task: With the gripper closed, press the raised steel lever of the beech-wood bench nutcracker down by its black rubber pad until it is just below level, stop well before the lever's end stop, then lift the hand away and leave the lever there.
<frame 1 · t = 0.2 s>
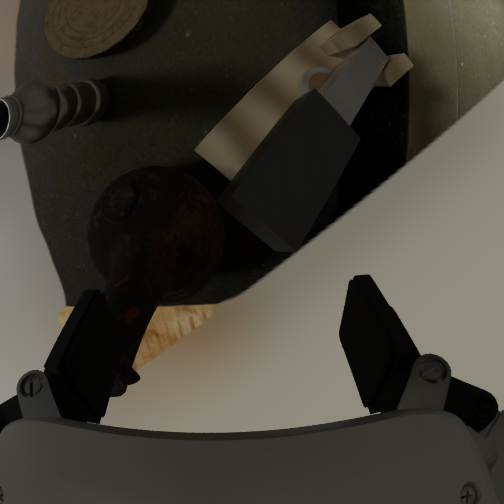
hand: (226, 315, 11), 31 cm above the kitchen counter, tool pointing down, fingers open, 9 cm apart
nutcracker base: (288, 106, 35), on the kitchen counter
plastic bottle: (93, 101, 32), on the kitchen counter
brown round flat disc: (101, 9, 26), on the kitchen counter
lever: (331, 109, 20), point 17 cm above the kitchen counter, hinge at -35.0°
glass bottle: (165, 217, 42), on the kitchen counter
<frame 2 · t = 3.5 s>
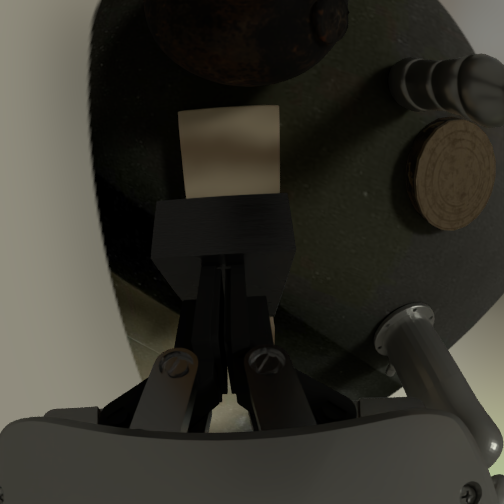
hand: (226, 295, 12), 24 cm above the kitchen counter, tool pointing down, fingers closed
nutcracker base: (234, 208, 35), on the kitchen counter
plastic bottle: (403, 83, 28), on the kitchen counter
brown round flat disc: (447, 170, 34), on the kitchen counter
lever: (235, 300, 21), point 17 cm above the kitchen counter, hinge at -35.0°, touching gripper
glass bottle: (243, 14, 24), on the kitchen counter
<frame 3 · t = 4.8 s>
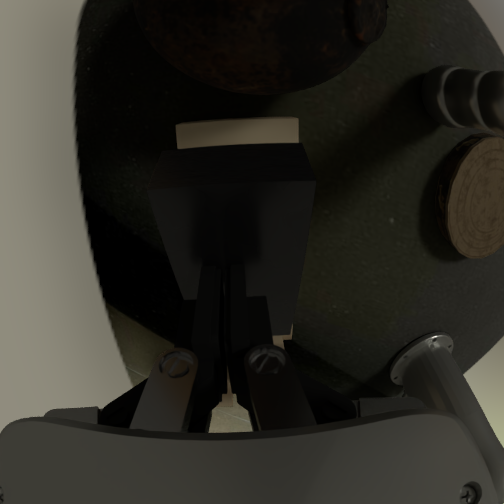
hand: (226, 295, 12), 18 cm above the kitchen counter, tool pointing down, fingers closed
nutcracker base: (243, 237, 31), on the kitchen counter
plastic bottle: (436, 94, 23), on the kitchen counter
brown round flat disc: (477, 192, 29), on the kitchen counter
lever: (244, 323, 18), point 14 cm above the kitchen counter, hinge at -19.9°, touching gripper
glass bottle: (254, 8, 20), on the kitchen counter
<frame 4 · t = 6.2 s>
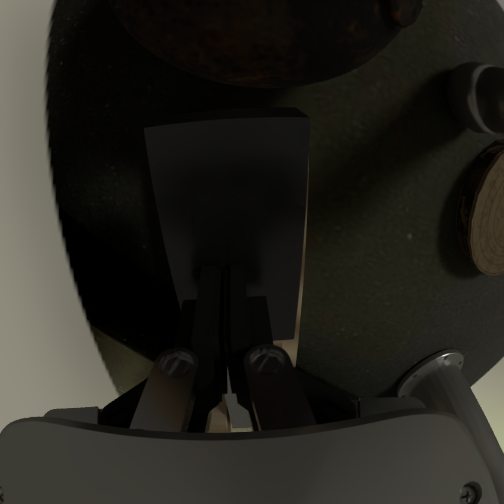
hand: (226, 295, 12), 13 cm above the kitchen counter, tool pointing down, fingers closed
nutcracker base: (241, 257, 26), on the kitchen counter
plastic bottle: (461, 94, 19), on the kitchen counter
brown round flat disc: (498, 203, 25), on the kitchen counter
lever: (242, 335, 16), point 11 cm above the kitchen counter, hinge at -5.8°, touching gripper
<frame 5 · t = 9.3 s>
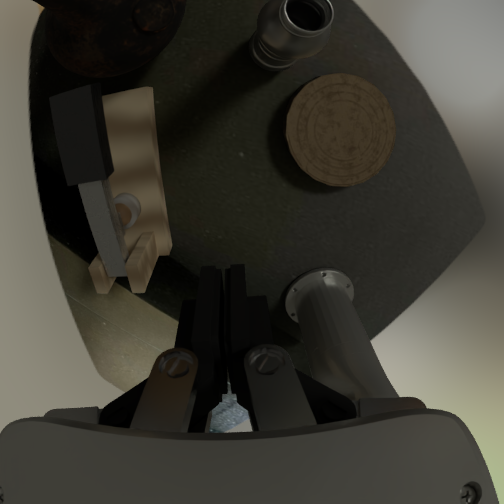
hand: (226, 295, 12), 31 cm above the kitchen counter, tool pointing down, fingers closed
nutcracker base: (128, 174, 39), on the kitchen counter
plastic bottle: (272, 50, 32), on the kitchen counter
brown round flat disc: (337, 127, 38), on the kitchen counter
lever: (95, 189, 29), point 11 cm above the kitchen counter, hinge at -5.7°
glass bottle: (129, 20, 28), on the kitchen counter
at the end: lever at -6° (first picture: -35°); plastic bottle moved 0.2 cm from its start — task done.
